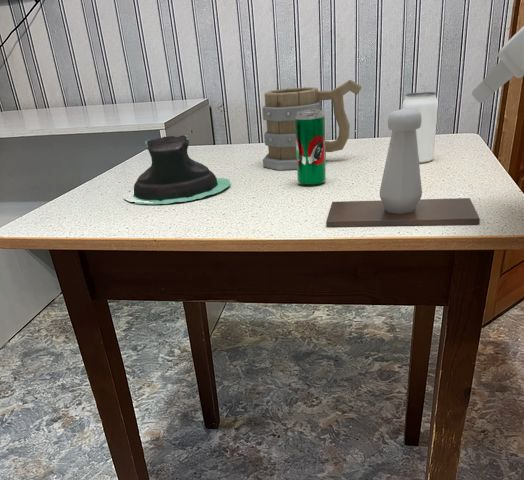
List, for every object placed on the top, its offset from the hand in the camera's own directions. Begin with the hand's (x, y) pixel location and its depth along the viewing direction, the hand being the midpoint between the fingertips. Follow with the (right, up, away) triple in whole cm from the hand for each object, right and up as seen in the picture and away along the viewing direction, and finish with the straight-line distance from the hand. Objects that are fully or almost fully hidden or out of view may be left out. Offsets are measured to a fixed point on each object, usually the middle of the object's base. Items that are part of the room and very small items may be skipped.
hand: (482, 92), depth 65 cm
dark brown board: (-7, -12, +12) cm, 18 cm away
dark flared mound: (-43, -1, +36) cm, 55 cm away
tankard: (-16, +8, +48) cm, 51 cm away
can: (+4, +6, +42) cm, 42 cm away
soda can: (-18, -1, +32) cm, 37 cm away
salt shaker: (-7, -11, +11) cm, 17 cm away
